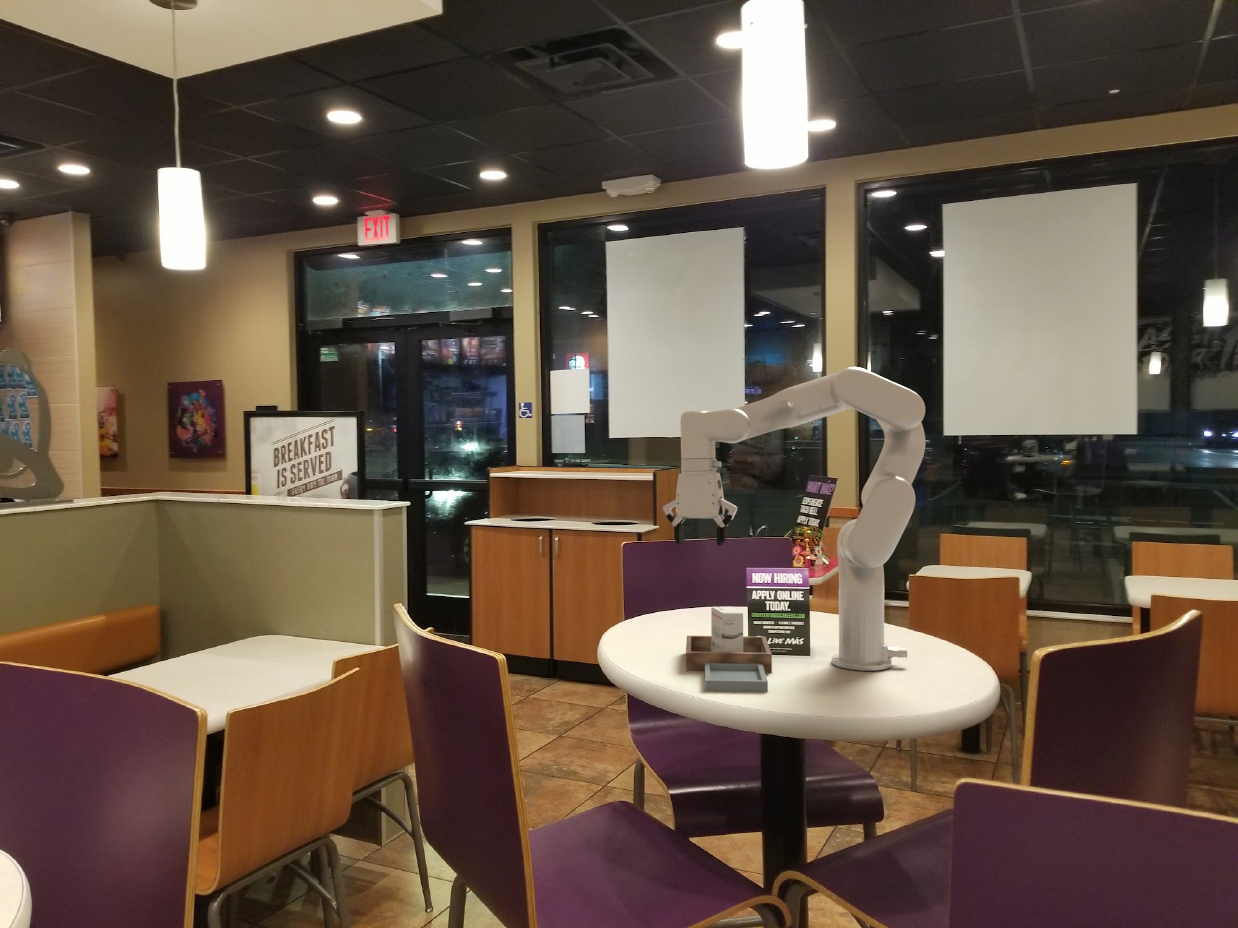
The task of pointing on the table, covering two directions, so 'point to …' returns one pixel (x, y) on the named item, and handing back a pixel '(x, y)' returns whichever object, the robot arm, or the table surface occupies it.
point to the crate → (727, 653)
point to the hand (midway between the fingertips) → (700, 544)
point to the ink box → (726, 630)
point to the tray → (735, 677)
